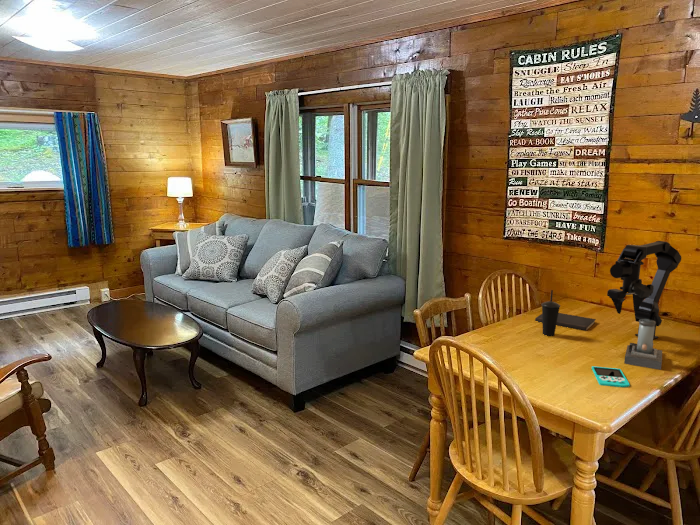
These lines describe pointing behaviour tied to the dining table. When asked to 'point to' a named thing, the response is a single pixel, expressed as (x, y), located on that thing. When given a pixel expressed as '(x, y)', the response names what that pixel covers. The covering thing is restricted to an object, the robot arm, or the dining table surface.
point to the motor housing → (643, 357)
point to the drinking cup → (549, 316)
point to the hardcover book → (571, 321)
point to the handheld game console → (610, 377)
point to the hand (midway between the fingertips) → (627, 312)
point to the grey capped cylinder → (645, 336)
